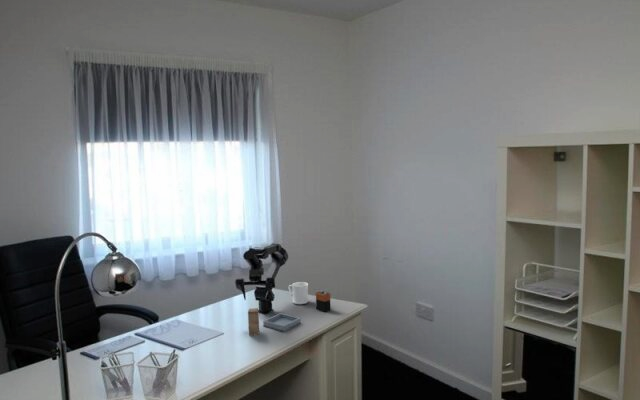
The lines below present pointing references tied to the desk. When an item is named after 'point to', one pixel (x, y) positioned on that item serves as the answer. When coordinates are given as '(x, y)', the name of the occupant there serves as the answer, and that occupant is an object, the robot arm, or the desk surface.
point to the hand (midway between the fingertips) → (254, 299)
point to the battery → (323, 301)
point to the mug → (299, 293)
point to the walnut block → (253, 321)
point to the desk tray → (282, 322)
